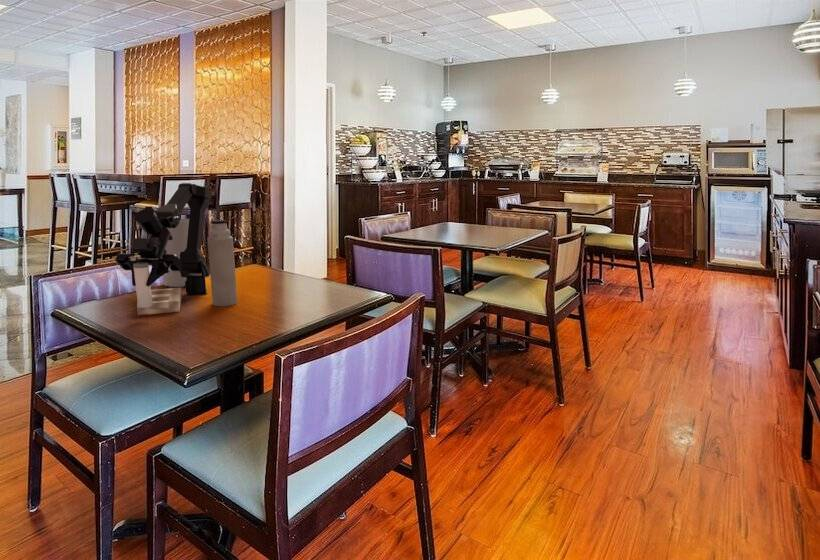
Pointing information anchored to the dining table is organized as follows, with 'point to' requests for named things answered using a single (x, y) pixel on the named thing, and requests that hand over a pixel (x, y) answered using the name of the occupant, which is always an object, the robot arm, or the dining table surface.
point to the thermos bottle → (222, 264)
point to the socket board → (163, 301)
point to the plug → (142, 284)
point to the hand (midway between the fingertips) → (140, 285)
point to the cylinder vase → (176, 252)
